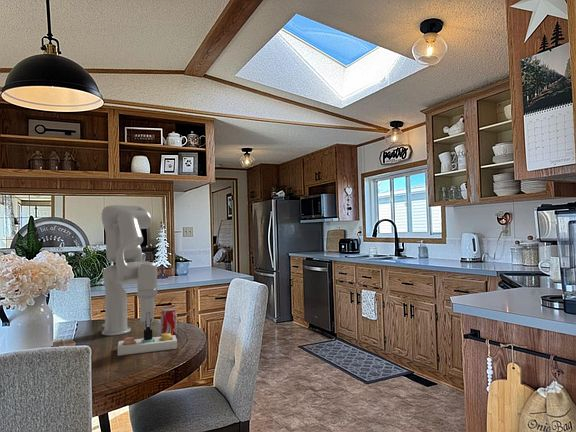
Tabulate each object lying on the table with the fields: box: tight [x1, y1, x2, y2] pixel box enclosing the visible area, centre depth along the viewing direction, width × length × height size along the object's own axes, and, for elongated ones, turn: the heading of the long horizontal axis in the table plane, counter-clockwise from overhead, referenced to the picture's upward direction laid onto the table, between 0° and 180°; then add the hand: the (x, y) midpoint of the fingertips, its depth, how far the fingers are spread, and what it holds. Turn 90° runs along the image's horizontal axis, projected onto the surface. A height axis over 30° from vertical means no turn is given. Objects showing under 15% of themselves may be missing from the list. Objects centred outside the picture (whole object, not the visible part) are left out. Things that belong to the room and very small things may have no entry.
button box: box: [117, 335, 178, 356], centre depth 161 cm, size 22×10×3 cm, turn 110°
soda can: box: [160, 307, 178, 336], centre depth 180 cm, size 7×7×12 cm
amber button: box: [160, 333, 171, 341], centre depth 164 cm, size 4×4×3 cm
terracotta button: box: [123, 336, 135, 345], centre depth 159 cm, size 4×4×3 cm
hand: (148, 339), depth 161 cm, fingers closed
